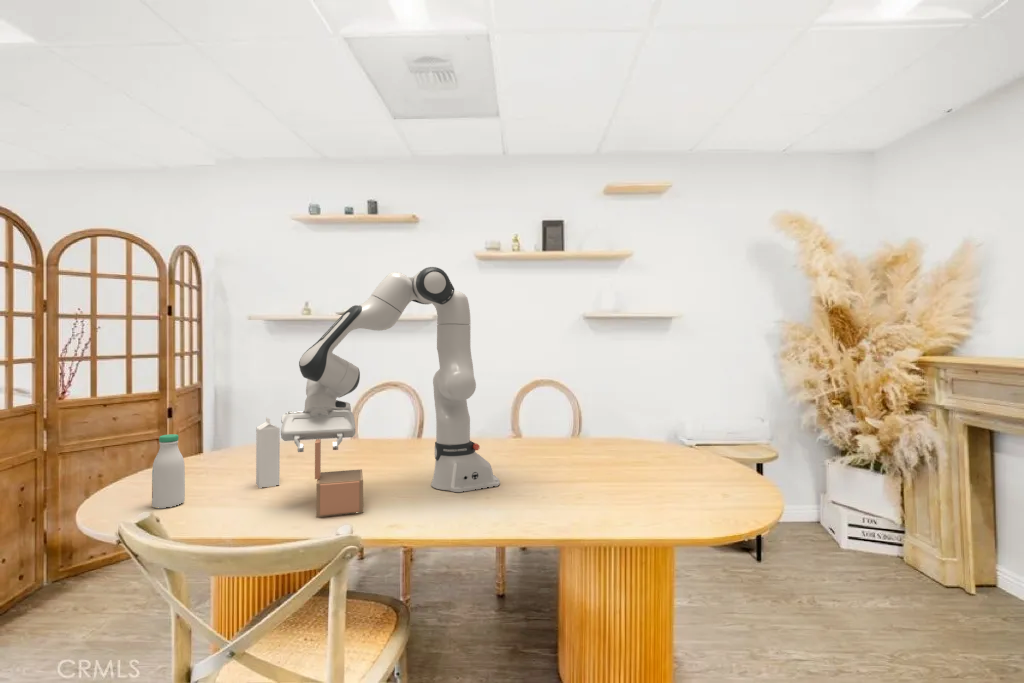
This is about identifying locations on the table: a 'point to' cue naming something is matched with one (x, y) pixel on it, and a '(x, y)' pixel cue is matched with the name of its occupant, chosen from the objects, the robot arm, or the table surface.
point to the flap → (317, 458)
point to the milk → (267, 454)
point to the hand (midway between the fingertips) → (318, 449)
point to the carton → (339, 493)
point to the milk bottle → (168, 474)
